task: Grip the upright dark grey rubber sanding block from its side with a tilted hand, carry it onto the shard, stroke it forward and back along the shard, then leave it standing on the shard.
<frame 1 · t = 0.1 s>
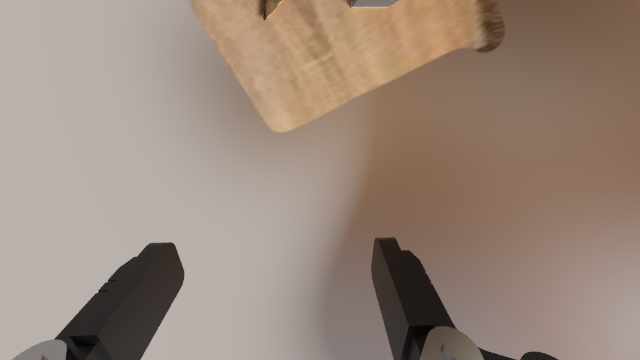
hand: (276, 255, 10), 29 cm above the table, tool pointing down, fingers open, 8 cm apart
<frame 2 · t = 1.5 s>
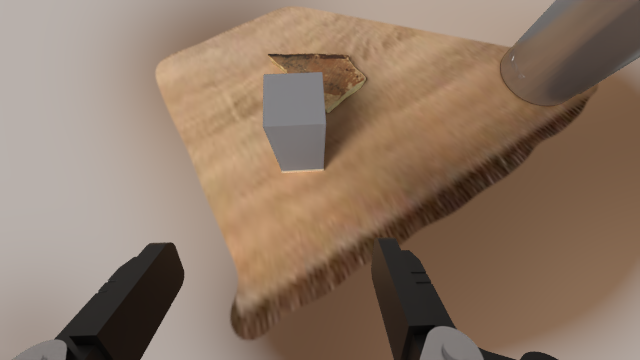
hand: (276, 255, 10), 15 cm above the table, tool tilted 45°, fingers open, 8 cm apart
shard: (315, 88, 31), on the table
sanding block: (302, 152, 28), on the table
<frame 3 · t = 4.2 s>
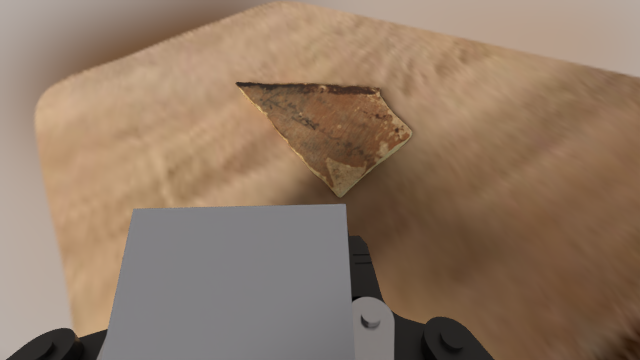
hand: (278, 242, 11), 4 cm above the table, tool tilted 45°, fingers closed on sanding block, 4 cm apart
shard: (319, 145, 18), on the table
sanding block: (288, 281, 14), on the table, touching gripper
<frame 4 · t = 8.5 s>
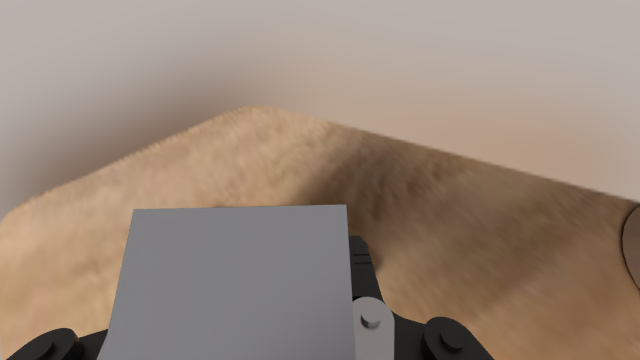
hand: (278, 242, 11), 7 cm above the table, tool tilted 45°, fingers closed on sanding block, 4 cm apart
sanding block: (288, 281, 14), point 2 cm above the table, touching gripper
when the fingers open (7 cm above the table, at t = 12.6 s): sanding block drops 1 cm, resting on shard.
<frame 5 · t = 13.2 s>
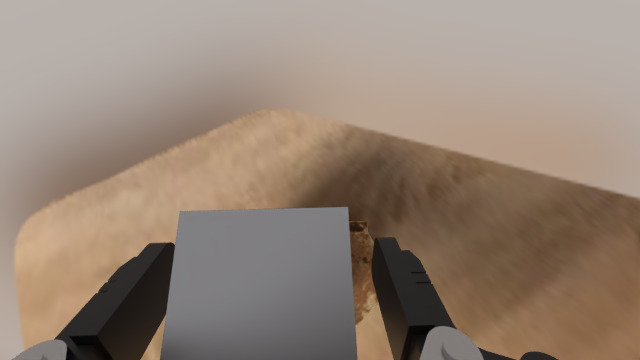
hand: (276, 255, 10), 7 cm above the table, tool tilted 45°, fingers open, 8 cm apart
shard: (307, 278, 17), on the table, touching sanding block
sanding block: (296, 270, 16), point 1 cm above the table, touching shard
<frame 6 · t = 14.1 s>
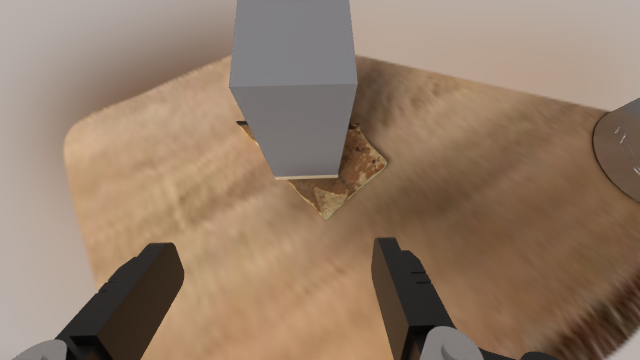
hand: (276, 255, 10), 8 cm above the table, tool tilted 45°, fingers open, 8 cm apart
shard: (309, 172, 20), on the table
sanding block: (306, 150, 19), point 1 cm above the table
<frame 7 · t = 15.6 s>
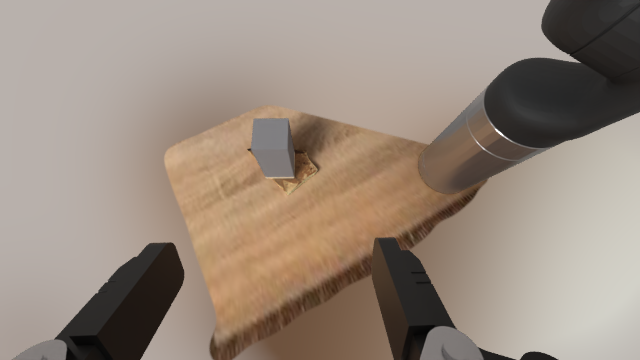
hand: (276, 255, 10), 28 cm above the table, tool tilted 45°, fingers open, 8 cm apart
shard: (282, 173, 42), on the table, touching sanding block
sanding block: (280, 165, 40), point 1 cm above the table, touching shard
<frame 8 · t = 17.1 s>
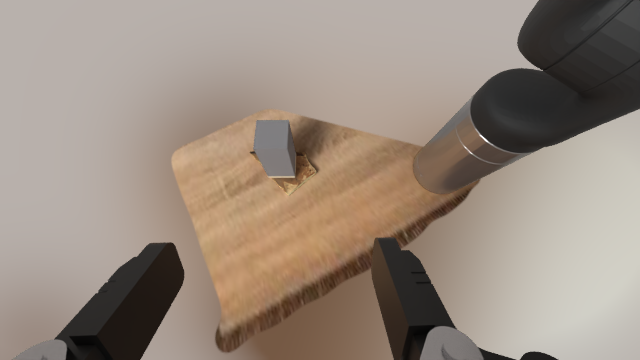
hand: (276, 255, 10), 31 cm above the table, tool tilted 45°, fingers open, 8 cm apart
shard: (282, 175, 44), on the table
sanding block: (282, 165, 43), point 1 cm above the table
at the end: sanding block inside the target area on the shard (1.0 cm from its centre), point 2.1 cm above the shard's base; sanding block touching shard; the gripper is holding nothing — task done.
